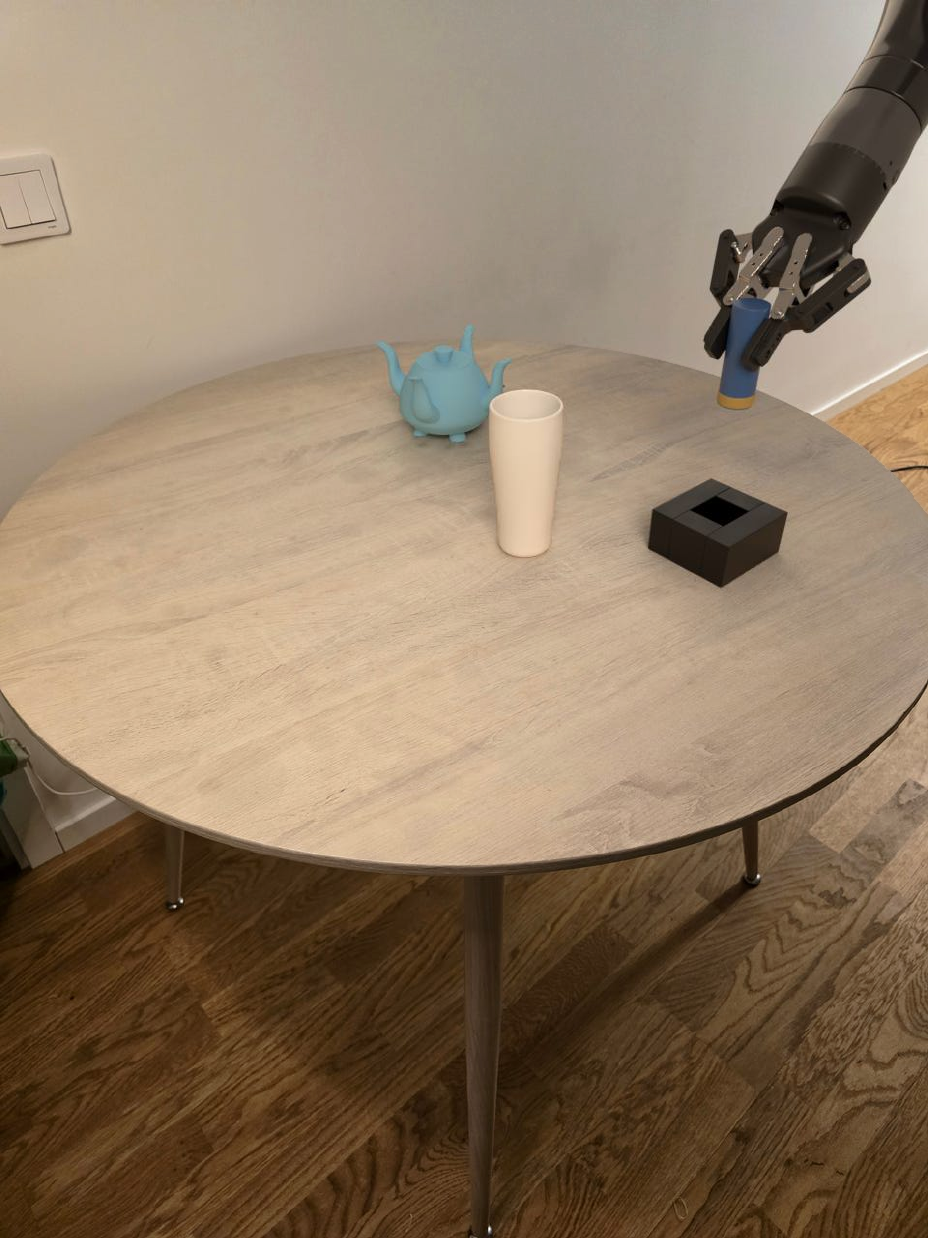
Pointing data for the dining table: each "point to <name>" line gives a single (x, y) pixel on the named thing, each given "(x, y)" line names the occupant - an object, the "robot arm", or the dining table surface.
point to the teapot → (444, 389)
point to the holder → (716, 531)
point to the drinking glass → (525, 467)
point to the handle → (735, 378)
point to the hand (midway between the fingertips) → (729, 359)
